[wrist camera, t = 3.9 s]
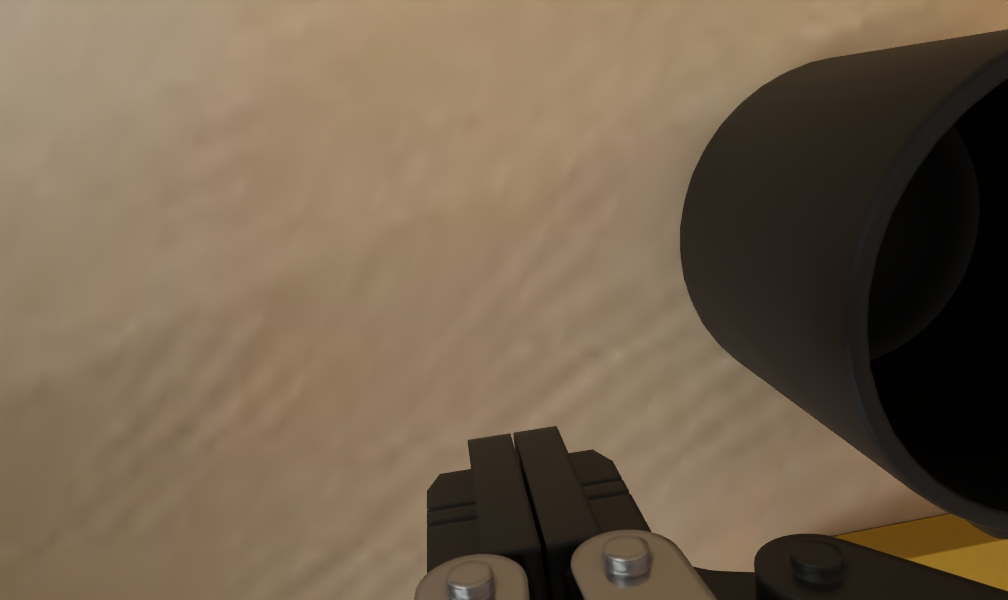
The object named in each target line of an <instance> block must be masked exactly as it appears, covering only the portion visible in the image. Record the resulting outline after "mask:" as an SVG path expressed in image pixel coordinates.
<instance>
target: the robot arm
mask: <svg viewBox="0 0 1008 600" xmlns="http://www.w3.org/2000/svg"><path fill="white" fill-rule="evenodd" d="M514 446H515V449H514ZM468 448H469V455H470V463H471V469H468V470H462V471H456V472H450V473H443V474H439V476H438V477H437V478H436V480H435V481H434V482H433V484H432V485H431V487H430V488H429V489H428V491H427V574H426V575H425V576H424V577H423V579H422V580H421V581H420V582H419V584H418V586H417V588H416V592H415V597H414V600H1008V591H1006V590H1002V589H999V588H996V587H993V586H990V585H986V584H983V583H980V582H977V581H974V580H971V579H967V578H964V577H961V576H958V575H955V574H951V573H948V572H945V571H942V570H939V569H936V568H932V567H929V566H926V565H923V564H920V563H916V562H913V561H910V560H907V559H904V558H901V557H897V556H894V555H891V554H888V553H885V552H881V551H878V550H875V549H872V548H869V547H866V546H862V545H859V544H856V543H853V542H850V541H846V540H843V539H840V538H836V537H832V536H826V535H819V534H795V535H788V536H783V537H780V538H777V539H774V540H772V541H770V542H768V543H766V544H765V545H764V546H762V547H761V548H760V550H759V551H758V552H757V554H756V556H755V561H754V568H755V572H729V571H713V570H706V569H701V568H697V567H693V566H692V565H691V563H690V562H689V561H688V559H687V558H686V557H685V555H684V554H683V553H682V551H681V550H680V549H679V547H678V546H677V545H676V544H675V543H673V542H672V541H671V540H669V539H667V538H665V537H663V536H661V535H658V534H656V533H652V532H651V530H650V528H649V526H648V525H647V523H646V521H645V519H644V517H643V516H642V514H641V512H640V510H639V508H638V506H637V505H636V503H635V501H634V499H633V497H632V496H631V494H629V490H628V488H627V486H626V485H625V483H624V481H623V480H622V478H621V475H620V474H619V472H618V470H617V468H616V466H615V465H614V463H613V461H611V460H610V459H608V458H606V457H605V456H603V455H601V454H600V453H598V452H596V451H594V450H586V451H580V452H574V453H568V451H567V449H566V447H565V444H564V442H563V440H562V437H561V435H560V433H559V430H558V428H557V426H553V427H547V428H540V429H534V430H528V431H521V432H515V433H514V445H513V442H512V438H511V434H510V433H509V434H503V435H497V436H490V437H484V438H477V439H471V440H468Z"/></svg>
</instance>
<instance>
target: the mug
mask: <svg viewBox="0 0 1008 600" xmlns="http://www.w3.org/2000/svg"><path fill="white" fill-rule="evenodd" d="M680 251H681V261H682V268H683V274H684V280H685V283H686V286H687V289H688V292H689V295H690V298H691V301H692V303H693V305H694V307H695V309H696V311H697V313H698V315H699V317H700V319H701V321H702V323H703V325H704V326H705V327H706V328H707V330H708V331H709V332H710V334H711V335H712V336H713V338H714V339H715V340H716V341H717V342H718V343H719V344H720V346H721V347H722V348H724V349H725V350H726V351H727V352H728V353H729V354H730V355H731V356H732V357H733V358H734V359H736V360H737V361H738V362H740V363H741V364H742V365H744V366H745V367H746V368H748V369H749V370H750V371H752V372H753V373H755V374H756V375H757V376H759V377H760V378H761V379H763V380H764V381H765V382H767V383H768V384H769V385H771V386H772V387H773V388H775V389H776V390H777V391H779V392H780V393H782V394H783V395H784V396H786V397H787V398H788V399H790V400H791V401H792V402H794V403H795V404H796V405H798V406H799V407H800V408H802V409H803V410H804V411H806V412H807V413H809V414H810V415H811V416H813V417H814V418H815V419H817V420H818V421H819V422H821V423H822V424H823V425H825V426H826V427H827V428H829V429H830V430H831V431H833V432H834V433H836V434H837V435H838V436H840V437H841V438H842V439H844V440H845V441H846V442H848V443H849V444H850V445H852V446H853V447H854V448H856V449H857V450H858V451H860V452H861V453H863V454H864V455H865V456H867V457H868V458H869V459H871V460H872V461H873V462H875V463H876V464H877V465H879V466H880V467H881V468H883V469H884V470H885V471H887V472H888V473H890V474H891V475H892V476H894V477H895V478H896V479H898V480H899V481H900V482H902V483H903V484H904V485H906V486H907V487H908V488H910V489H911V490H912V491H914V492H915V493H917V494H918V495H920V496H921V497H923V498H925V499H926V500H928V501H929V502H931V503H932V504H934V505H936V506H937V507H939V508H941V509H943V510H945V511H946V512H948V513H950V514H952V515H955V516H957V517H960V518H962V519H965V520H966V521H968V522H969V523H970V524H971V525H973V526H974V527H975V528H977V529H979V530H980V531H982V532H984V533H986V534H988V535H990V536H992V537H994V538H998V539H1008V29H1007V30H1001V31H995V32H989V33H983V34H976V35H970V36H964V37H958V38H951V39H945V40H939V41H933V42H927V43H920V44H914V45H908V46H902V47H896V48H889V49H883V50H877V51H871V52H864V53H858V54H852V55H846V56H840V57H833V58H828V59H824V60H819V61H815V62H810V63H808V64H805V65H803V66H800V67H798V68H795V69H793V70H790V71H788V72H786V73H784V74H782V75H780V76H779V77H777V78H775V79H773V80H772V81H770V82H768V83H767V84H765V85H763V86H762V87H760V88H759V89H758V90H757V91H756V92H754V93H753V94H752V95H751V96H749V97H748V98H747V99H746V100H744V101H743V102H742V103H741V104H740V105H739V106H738V107H737V108H736V109H735V110H734V111H733V112H732V113H731V115H730V116H729V117H728V118H727V119H726V120H725V121H724V122H723V123H722V124H721V126H720V127H719V129H718V130H717V132H716V133H715V134H714V136H713V137H712V139H711V140H710V142H709V143H708V145H707V147H706V148H705V150H704V152H703V154H702V156H701V158H700V160H699V162H698V164H697V166H696V168H695V170H694V172H693V175H692V178H691V181H690V184H689V188H688V191H687V194H686V198H685V202H684V207H683V213H682V220H681V226H680Z"/></svg>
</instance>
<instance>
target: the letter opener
mask: <svg viewBox="0 0 1008 600" xmlns="http://www.w3.org/2000/svg"><path fill="white" fill-rule="evenodd" d="M833 537H836V538H840V539H843V540H846V541H850V542H853V543H856V544H859V545H862V546H866V547H869V548H872V549H875V550H878V551H881V552H885V553H888V554H891V555H894V556H897V557H901V558H904V559H907V560H910V561H913V562H916V563H920V564H923V565H926V566H929V567H932V568H936V569H939V570H942V571H945V572H948V573H951V574H955V575H958V576H961V577H964V578H967V579H971V580H974V581H977V582H980V583H983V584H986V585H990V586H993V587H996V588H999V589H1002V590H1006V591H1008V539H998V538H994V537H992V536H990V535H988V534H986V533H984V532H982V531H980V530H979V529H977V528H975V527H974V526H973V525H971V524H970V523H969V522H968V521H966V520H965V519H962V518H960V517H957V516H955V515H952V514H946V515H941V516H936V517H931V518H925V519H920V520H915V521H910V522H905V523H900V524H894V525H889V526H884V527H879V528H874V529H869V530H864V531H858V532H853V533H848V534H843V535H838V536H833Z"/></svg>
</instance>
